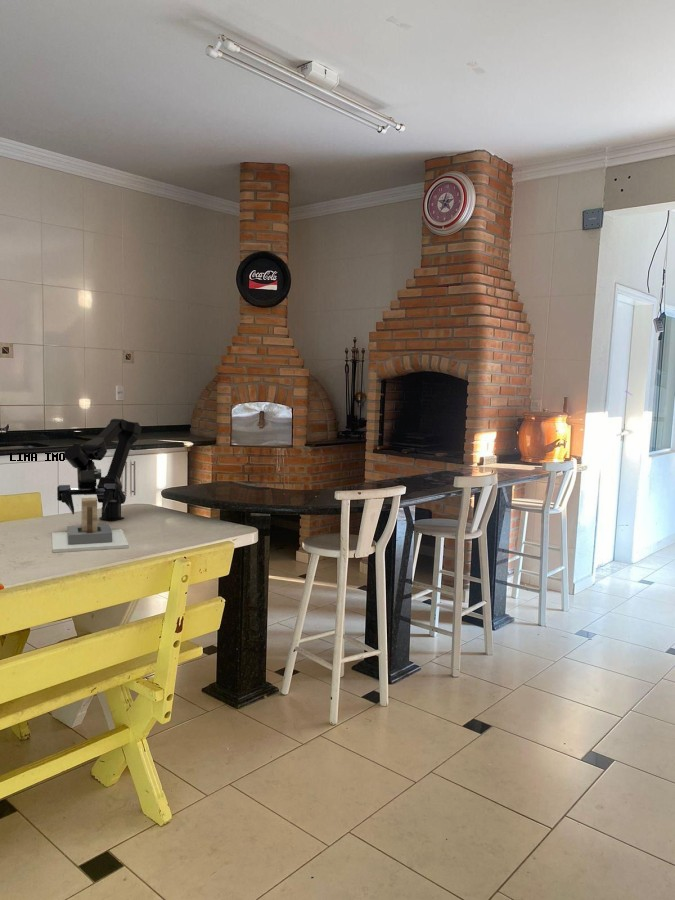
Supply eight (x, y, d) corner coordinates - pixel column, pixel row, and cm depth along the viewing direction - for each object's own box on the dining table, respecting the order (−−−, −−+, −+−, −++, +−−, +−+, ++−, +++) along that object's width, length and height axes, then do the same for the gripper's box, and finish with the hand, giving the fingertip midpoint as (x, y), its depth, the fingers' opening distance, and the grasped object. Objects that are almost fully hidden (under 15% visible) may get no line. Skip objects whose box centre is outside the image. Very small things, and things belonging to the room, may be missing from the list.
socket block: (52, 535, 225) (52, 523, 225) (121, 532, 234) (121, 520, 233) (52, 552, 205) (52, 539, 205) (128, 547, 214) (128, 535, 213)
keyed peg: (81, 537, 221) (81, 497, 219) (96, 536, 222) (96, 497, 221) (82, 541, 216) (82, 501, 214) (97, 540, 217) (97, 500, 216)
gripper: (57, 461, 225) (58, 500, 216) (116, 460, 232) (119, 498, 223) (56, 480, 233) (57, 519, 224) (114, 479, 240) (117, 516, 231)
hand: (88, 513), depth 226 cm, fingers open, 9 cm apart
